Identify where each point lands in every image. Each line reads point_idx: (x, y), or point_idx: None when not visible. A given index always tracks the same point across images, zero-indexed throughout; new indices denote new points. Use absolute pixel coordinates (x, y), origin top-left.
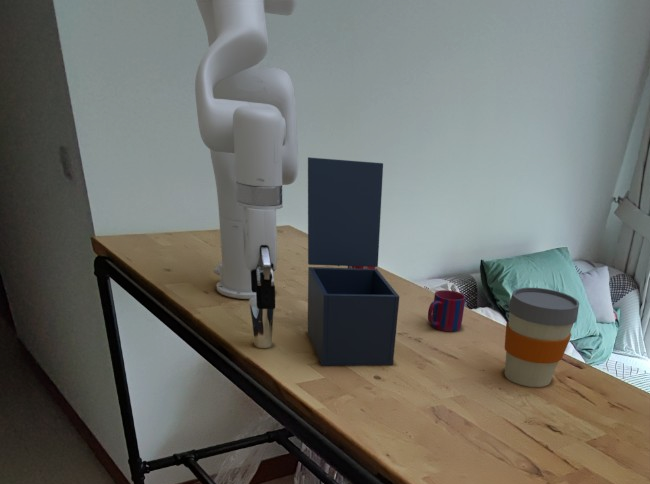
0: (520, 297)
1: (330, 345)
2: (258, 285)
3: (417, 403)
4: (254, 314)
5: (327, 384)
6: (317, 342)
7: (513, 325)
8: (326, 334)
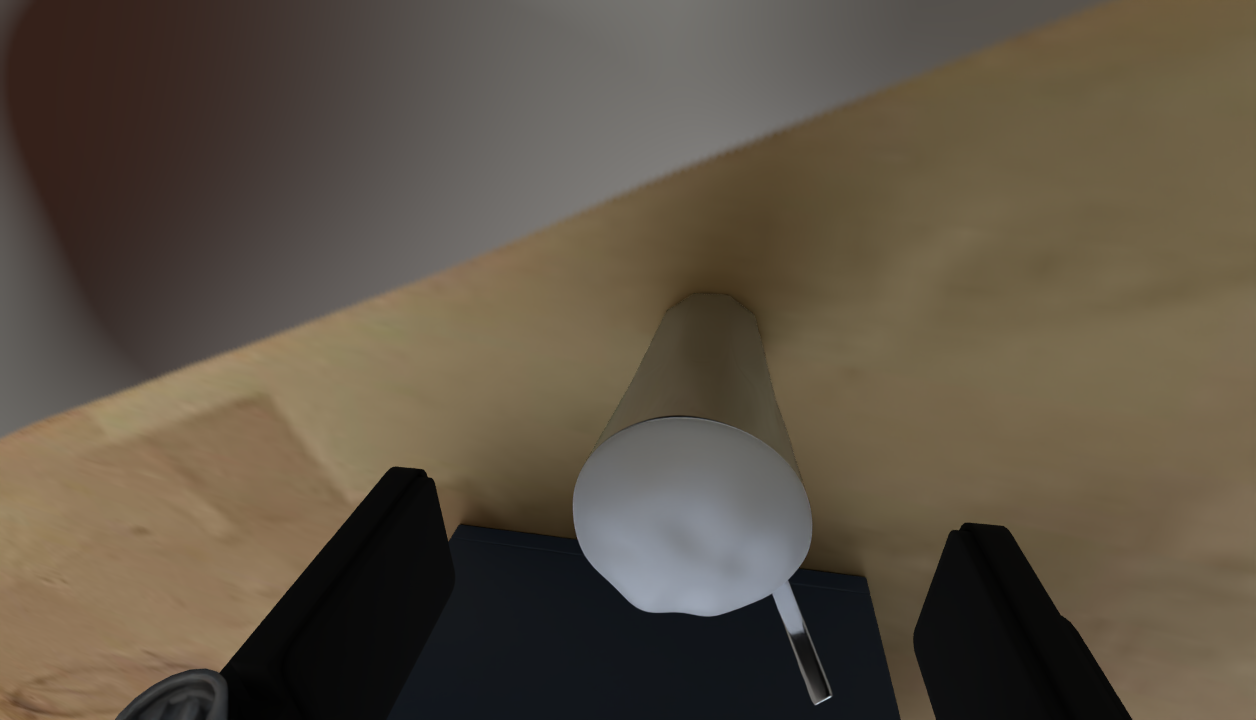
0: None
1: None
2: (161, 685)
3: None
4: (625, 401)
5: (293, 494)
6: (557, 587)
7: None
8: None
